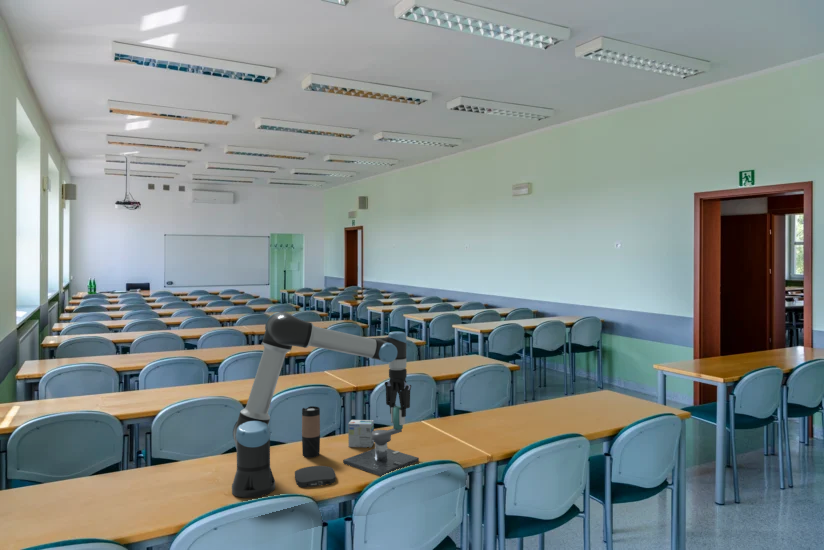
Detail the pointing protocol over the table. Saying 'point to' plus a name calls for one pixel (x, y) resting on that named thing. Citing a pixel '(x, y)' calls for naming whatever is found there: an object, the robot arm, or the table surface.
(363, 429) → the light bulb box
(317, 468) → the media streaming box
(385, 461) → the post base
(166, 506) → the table surface
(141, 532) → the table surface
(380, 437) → the crank handle
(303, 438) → the travel mug
